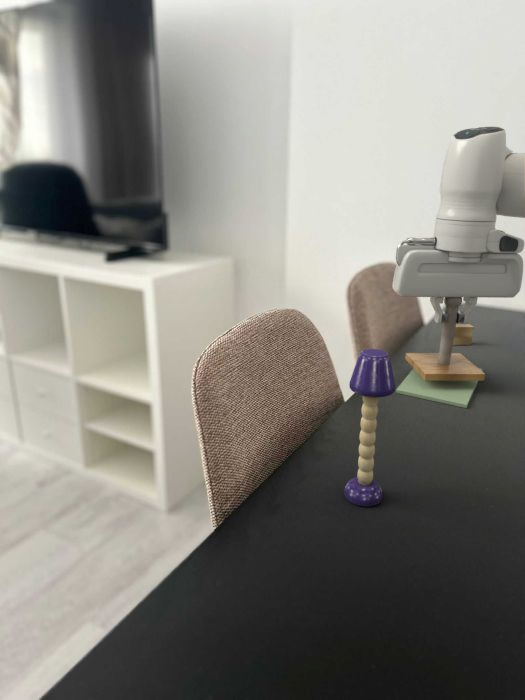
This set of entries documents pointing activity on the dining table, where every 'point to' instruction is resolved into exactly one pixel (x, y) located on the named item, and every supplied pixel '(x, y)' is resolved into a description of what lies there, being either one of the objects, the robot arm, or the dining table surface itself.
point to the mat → (438, 389)
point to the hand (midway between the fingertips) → (450, 322)
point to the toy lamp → (369, 421)
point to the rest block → (463, 334)
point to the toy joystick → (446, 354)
